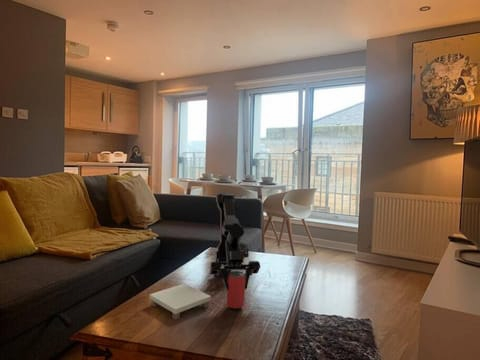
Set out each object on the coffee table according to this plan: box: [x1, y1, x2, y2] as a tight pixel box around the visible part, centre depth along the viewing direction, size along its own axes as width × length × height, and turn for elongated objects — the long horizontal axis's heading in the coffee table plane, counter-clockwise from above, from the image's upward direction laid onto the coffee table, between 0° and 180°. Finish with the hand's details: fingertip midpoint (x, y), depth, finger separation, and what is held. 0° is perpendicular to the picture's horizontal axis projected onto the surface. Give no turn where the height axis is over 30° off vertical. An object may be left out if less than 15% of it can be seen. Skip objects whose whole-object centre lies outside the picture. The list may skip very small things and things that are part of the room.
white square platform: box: [148, 283, 212, 320], centre depth 122 cm, size 16×16×4 cm
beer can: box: [226, 270, 246, 310], centre depth 122 cm, size 7×7×12 cm
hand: (236, 289), depth 120 cm, fingers closed on beer can, 7 cm apart
